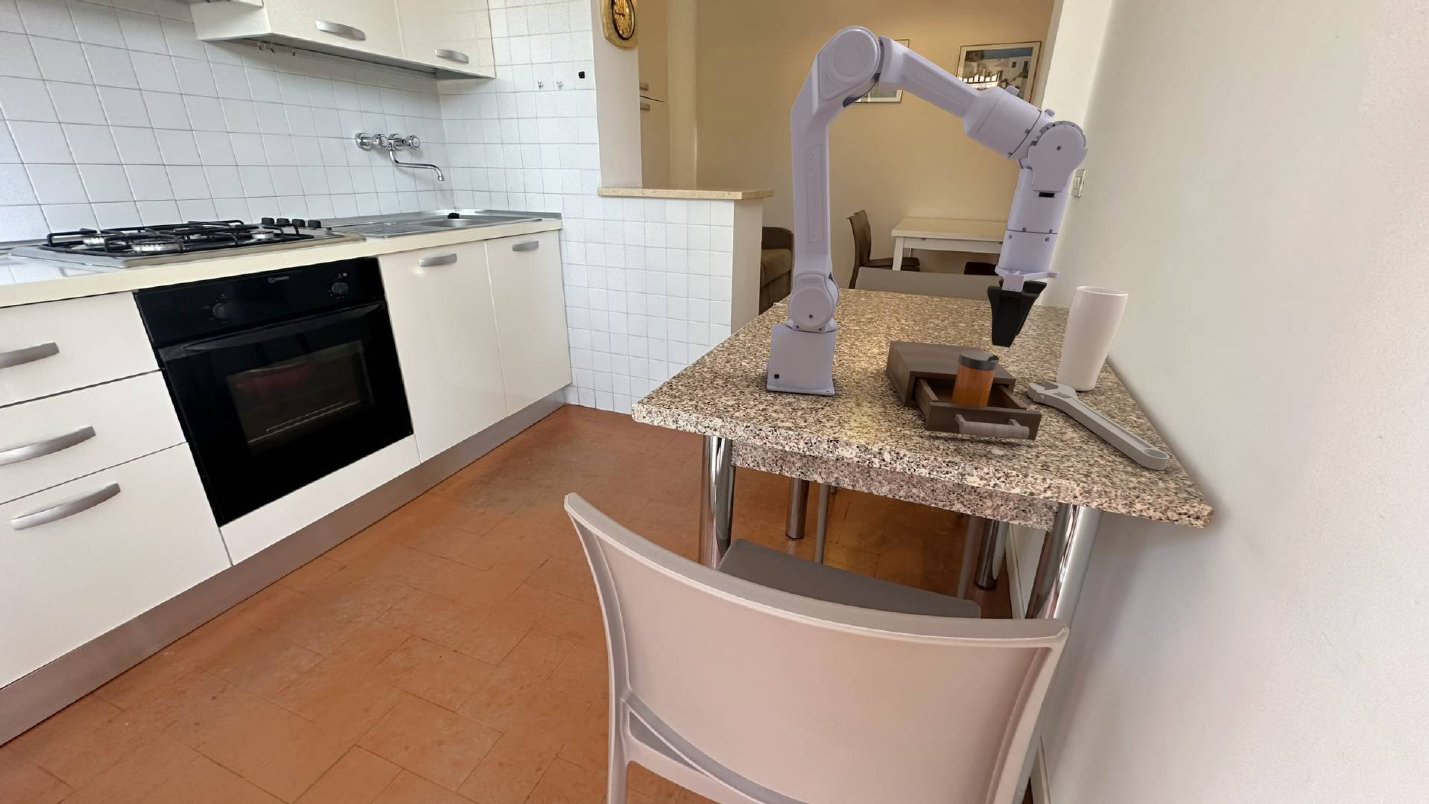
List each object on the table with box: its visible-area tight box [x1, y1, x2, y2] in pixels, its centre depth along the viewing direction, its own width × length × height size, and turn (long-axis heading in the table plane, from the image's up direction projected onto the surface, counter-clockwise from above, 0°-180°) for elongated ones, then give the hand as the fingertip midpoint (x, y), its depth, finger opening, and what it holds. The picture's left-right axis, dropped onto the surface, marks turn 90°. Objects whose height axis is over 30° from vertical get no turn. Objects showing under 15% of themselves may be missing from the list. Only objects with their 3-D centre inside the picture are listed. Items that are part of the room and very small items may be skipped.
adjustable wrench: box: [1026, 380, 1170, 471], centre depth 74 cm, size 25×6×2 cm, turn 176°
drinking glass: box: [1055, 285, 1130, 392], centre depth 86 cm, size 7×7×15 cm
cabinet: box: [885, 340, 1018, 408], centre depth 83 cm, size 16×14×5 cm
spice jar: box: [950, 350, 1000, 407], centre depth 71 cm, size 4×4×7 cm
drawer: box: [912, 377, 1043, 441], centre depth 71 cm, size 18×12×3 cm
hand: (1005, 339), depth 74 cm, fingers open, 7 cm apart
